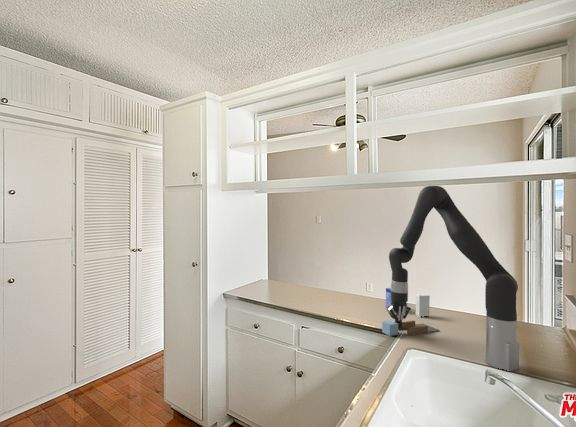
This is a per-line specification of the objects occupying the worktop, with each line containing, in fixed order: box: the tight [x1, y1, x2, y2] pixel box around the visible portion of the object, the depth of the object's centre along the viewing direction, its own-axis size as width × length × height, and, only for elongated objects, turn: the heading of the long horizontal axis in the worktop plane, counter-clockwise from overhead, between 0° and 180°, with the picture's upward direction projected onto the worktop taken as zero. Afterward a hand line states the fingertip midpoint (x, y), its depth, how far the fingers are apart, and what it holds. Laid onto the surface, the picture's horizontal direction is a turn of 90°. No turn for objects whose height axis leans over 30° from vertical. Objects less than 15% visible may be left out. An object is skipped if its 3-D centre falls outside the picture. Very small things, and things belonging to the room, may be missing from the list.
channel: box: [398, 320, 429, 336], centre depth 147 cm, size 8×12×3 cm
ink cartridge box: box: [385, 287, 392, 309], centre depth 183 cm, size 10×6×14 cm, turn 25°
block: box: [381, 319, 399, 337], centre depth 142 cm, size 5×5×5 cm
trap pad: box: [415, 323, 441, 333], centre depth 151 cm, size 10×6×1 cm, turn 25°
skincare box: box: [415, 293, 431, 317], centre depth 172 cm, size 6×4×12 cm
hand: (398, 327), depth 144 cm, fingers closed
